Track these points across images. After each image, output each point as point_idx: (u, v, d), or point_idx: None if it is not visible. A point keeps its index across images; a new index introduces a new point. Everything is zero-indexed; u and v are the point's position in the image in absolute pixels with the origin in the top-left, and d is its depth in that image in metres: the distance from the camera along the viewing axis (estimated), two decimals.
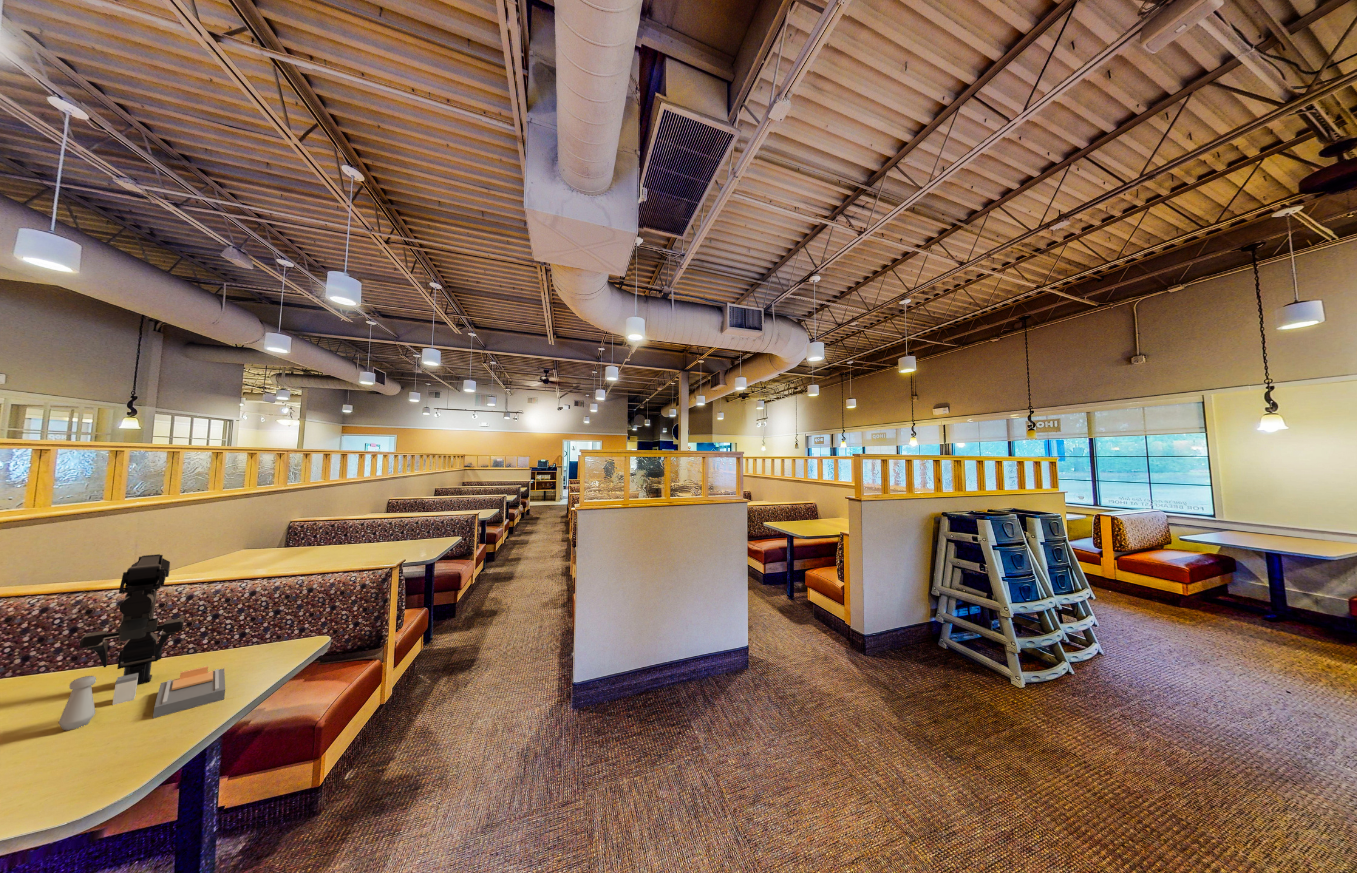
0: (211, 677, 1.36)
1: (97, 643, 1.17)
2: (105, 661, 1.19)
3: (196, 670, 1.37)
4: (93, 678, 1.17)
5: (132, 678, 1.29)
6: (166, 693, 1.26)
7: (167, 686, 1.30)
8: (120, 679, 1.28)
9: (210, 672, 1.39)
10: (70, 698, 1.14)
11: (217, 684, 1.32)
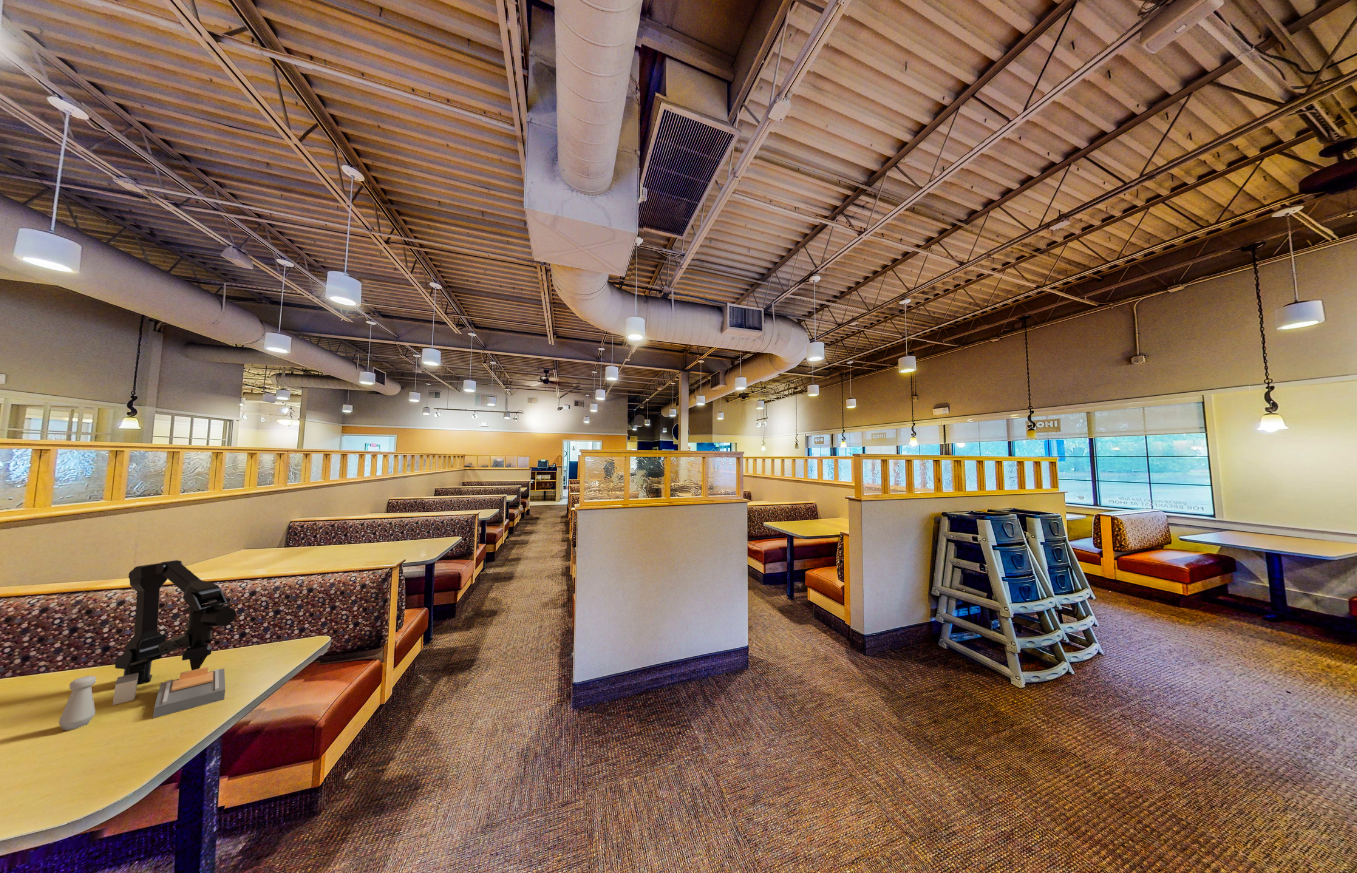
0: (211, 678, 1.35)
1: None
2: (191, 667, 1.37)
3: (196, 671, 1.37)
4: (93, 678, 1.17)
5: (132, 678, 1.29)
6: (166, 693, 1.26)
7: (167, 686, 1.30)
8: (120, 679, 1.28)
9: (210, 673, 1.39)
10: (70, 698, 1.14)
11: (217, 684, 1.32)
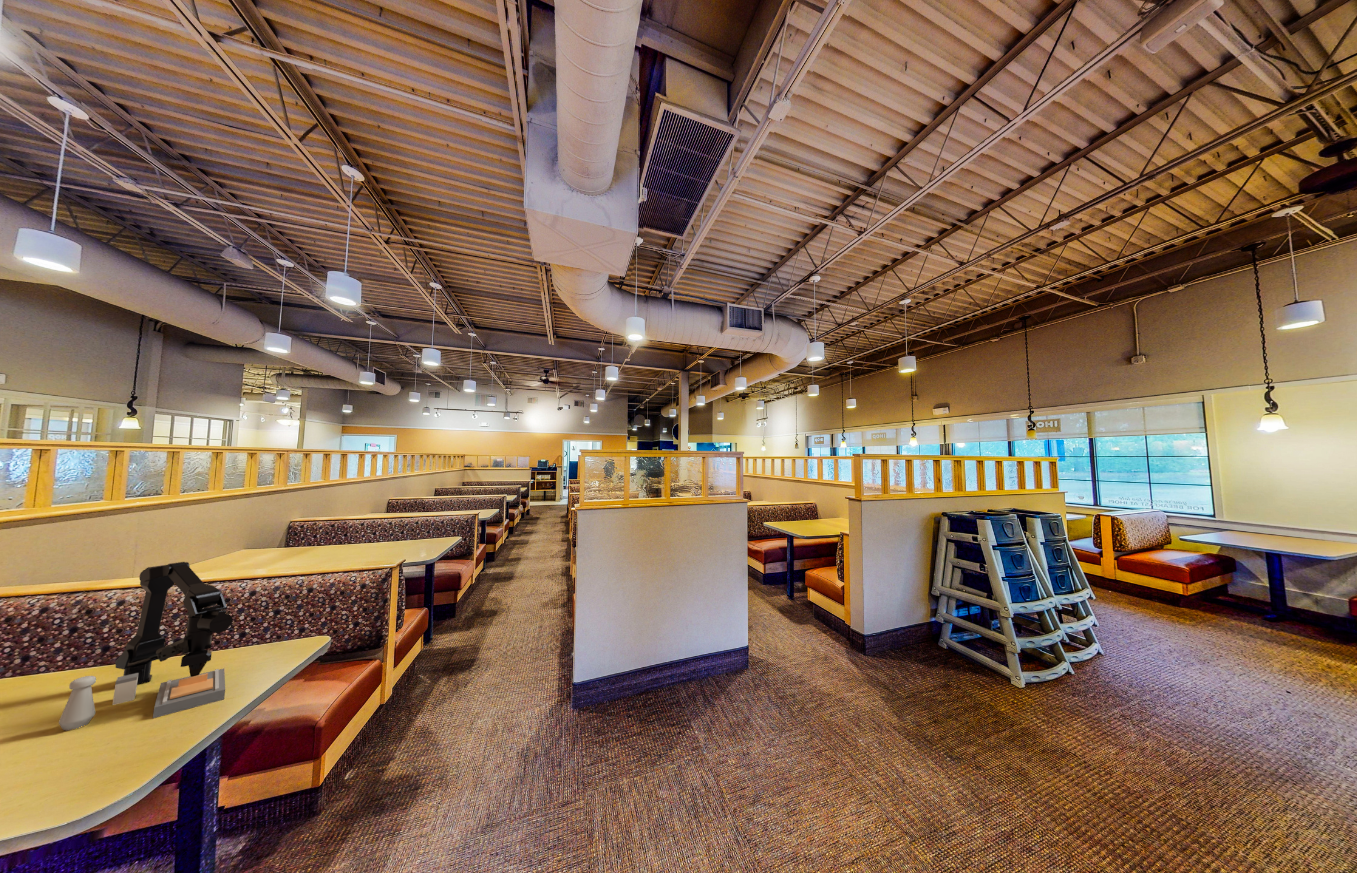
0: (211, 685, 1.31)
1: None
2: None
3: (195, 677, 1.32)
4: (93, 678, 1.17)
5: (132, 678, 1.29)
6: (166, 693, 1.26)
7: (167, 686, 1.30)
8: (120, 679, 1.28)
9: (210, 679, 1.34)
10: (70, 698, 1.14)
11: (217, 684, 1.32)
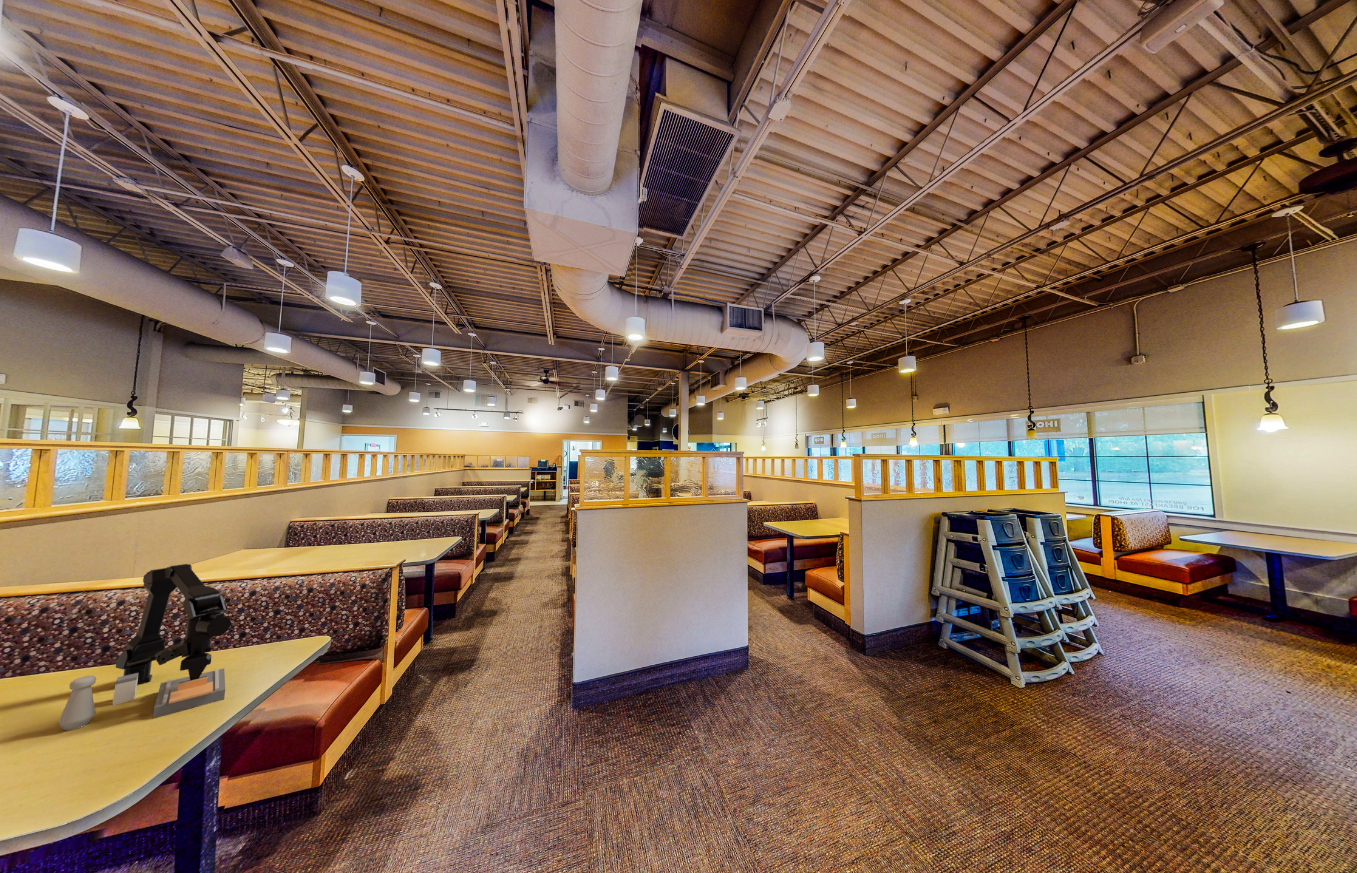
0: (211, 689, 1.28)
1: None
2: (190, 678, 1.30)
3: (195, 681, 1.30)
4: (93, 678, 1.17)
5: (132, 678, 1.29)
6: (166, 693, 1.26)
7: (167, 686, 1.30)
8: (120, 679, 1.28)
9: (210, 683, 1.32)
10: (70, 698, 1.14)
11: (217, 684, 1.32)
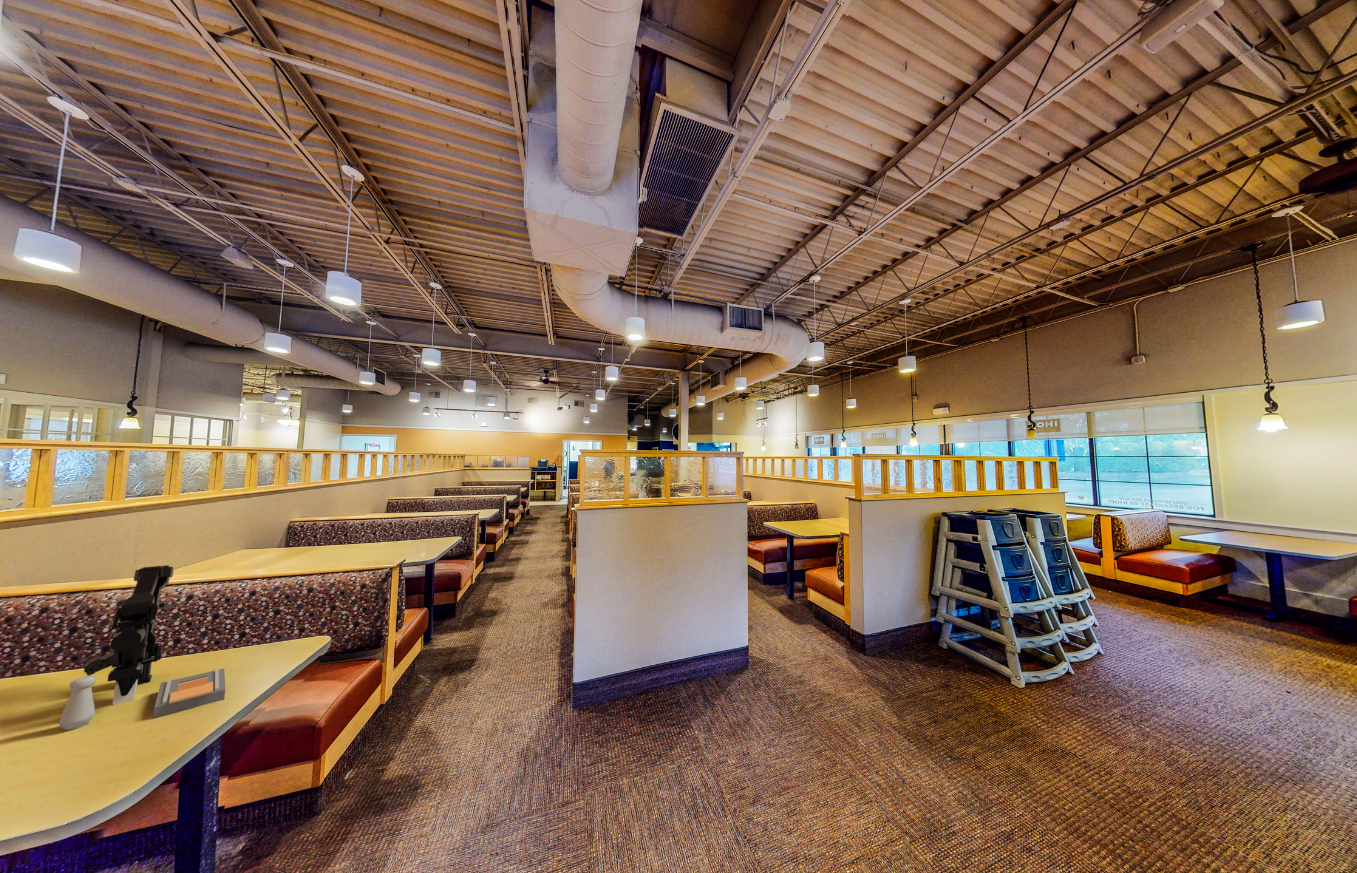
0: (211, 689, 1.28)
1: None
2: None
3: (195, 681, 1.29)
4: (93, 678, 1.17)
5: None
6: (166, 693, 1.26)
7: (167, 686, 1.30)
8: None
9: (210, 683, 1.32)
10: (70, 698, 1.14)
11: (217, 684, 1.32)
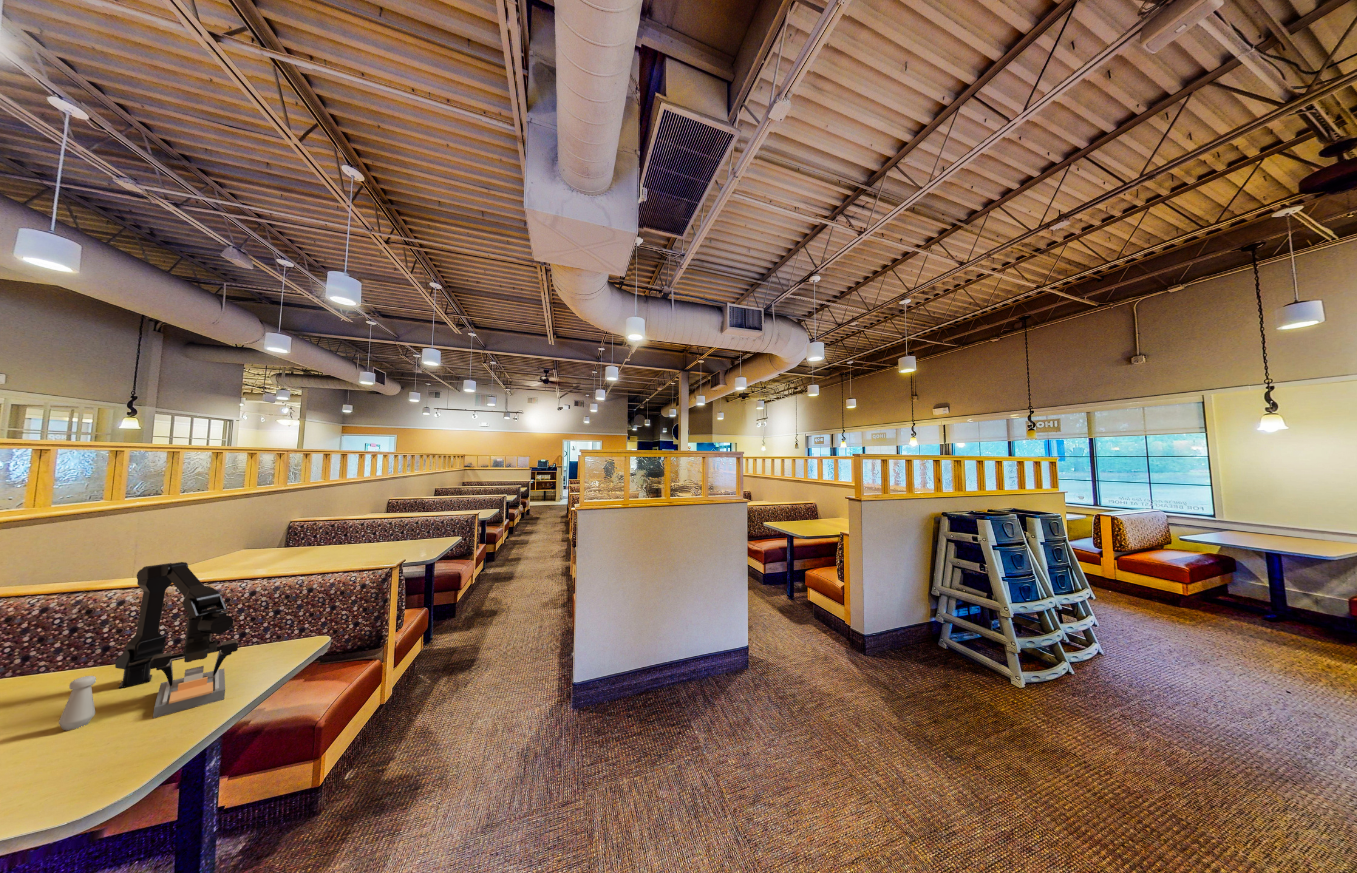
0: (211, 689, 1.28)
1: (165, 664, 1.29)
2: (171, 680, 1.31)
3: (195, 681, 1.29)
4: (93, 678, 1.17)
5: None
6: (166, 693, 1.26)
7: (167, 686, 1.30)
8: (199, 669, 1.35)
9: (210, 683, 1.32)
10: (70, 698, 1.14)
11: (217, 684, 1.32)
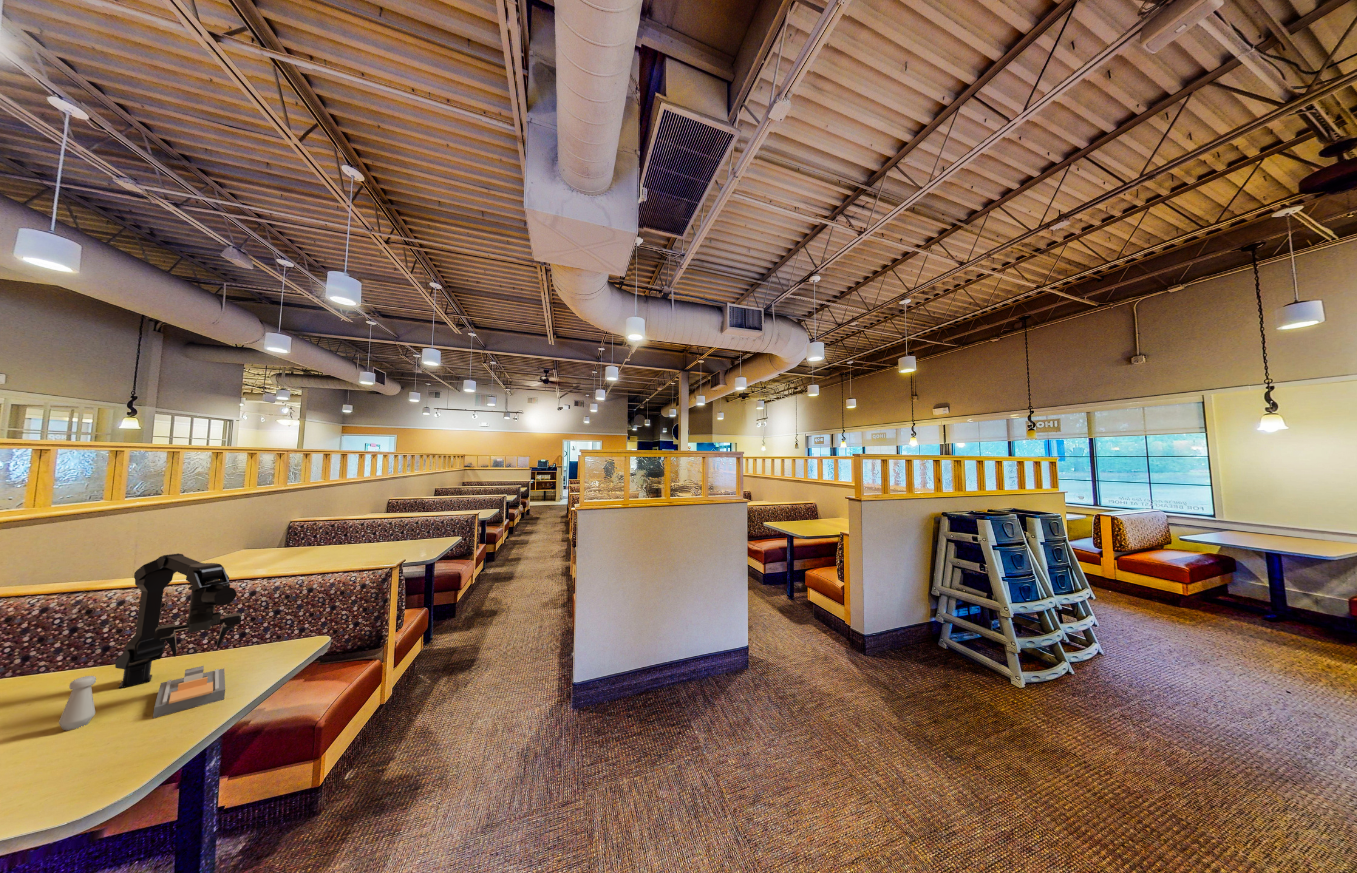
0: (211, 689, 1.28)
1: (169, 634, 1.30)
2: (175, 651, 1.32)
3: (195, 681, 1.29)
4: (93, 678, 1.17)
5: None
6: (166, 693, 1.26)
7: (167, 686, 1.30)
8: (199, 669, 1.35)
9: (210, 683, 1.32)
10: (70, 698, 1.14)
11: (217, 684, 1.32)
